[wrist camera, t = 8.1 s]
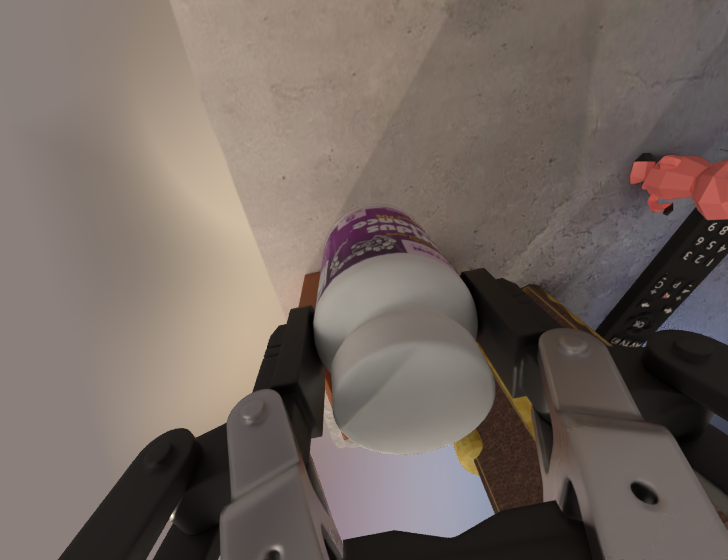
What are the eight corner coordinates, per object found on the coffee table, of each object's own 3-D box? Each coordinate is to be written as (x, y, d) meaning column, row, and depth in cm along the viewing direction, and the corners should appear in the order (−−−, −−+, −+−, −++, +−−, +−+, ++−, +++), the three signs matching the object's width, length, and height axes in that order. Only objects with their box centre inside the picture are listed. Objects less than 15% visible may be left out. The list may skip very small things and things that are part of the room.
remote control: (561, 372, 49) (570, 381, 48) (715, 183, 35) (735, 186, 33) (597, 378, 51) (607, 387, 49) (758, 199, 37) (780, 203, 35)
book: (525, 275, 39) (763, 471, 17) (562, 303, 42) (805, 503, 20) (419, 376, 47) (491, 601, 25) (456, 395, 50) (549, 610, 28)
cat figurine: (690, 156, 33) (853, 173, 23) (645, 212, 36) (771, 250, 26) (646, 132, 32) (800, 139, 21) (602, 193, 34) (718, 226, 24)
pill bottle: (429, 199, 14) (561, 309, 6) (420, 292, 17) (502, 463, 8) (318, 201, 14) (287, 324, 6) (326, 296, 16) (313, 480, 8)
